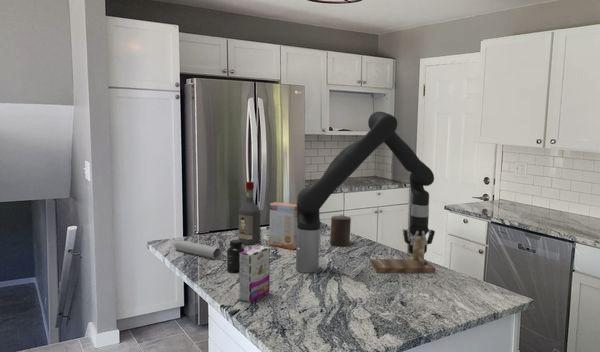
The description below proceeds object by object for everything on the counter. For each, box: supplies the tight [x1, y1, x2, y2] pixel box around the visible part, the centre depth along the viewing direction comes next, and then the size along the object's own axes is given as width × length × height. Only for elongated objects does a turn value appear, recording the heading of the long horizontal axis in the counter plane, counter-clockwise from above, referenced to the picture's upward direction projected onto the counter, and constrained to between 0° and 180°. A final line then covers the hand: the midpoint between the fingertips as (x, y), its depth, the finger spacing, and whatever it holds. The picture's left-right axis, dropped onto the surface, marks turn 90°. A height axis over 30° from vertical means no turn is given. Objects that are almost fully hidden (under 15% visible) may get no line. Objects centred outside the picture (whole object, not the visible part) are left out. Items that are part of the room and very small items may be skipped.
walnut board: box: [370, 258, 436, 274], centre depth 194 cm, size 24×12×2 cm, turn 94°
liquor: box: [238, 181, 261, 246], centre depth 227 cm, size 9×9×30 cm
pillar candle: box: [329, 215, 352, 248], centre depth 229 cm, size 10×10×15 cm
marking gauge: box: [410, 236, 428, 265], centre depth 197 cm, size 5×13×12 cm, turn 4°
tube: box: [174, 239, 222, 261], centre depth 207 cm, size 5×5×25 cm
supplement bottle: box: [226, 239, 246, 274], centre depth 185 cm, size 7×7×12 cm
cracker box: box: [268, 201, 297, 251], centre depth 222 cm, size 14×6×21 cm, turn 58°
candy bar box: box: [239, 245, 271, 303], centre depth 158 cm, size 11×5×16 cm, turn 148°
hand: (417, 252), depth 202 cm, fingers closed on marking gauge, 5 cm apart
